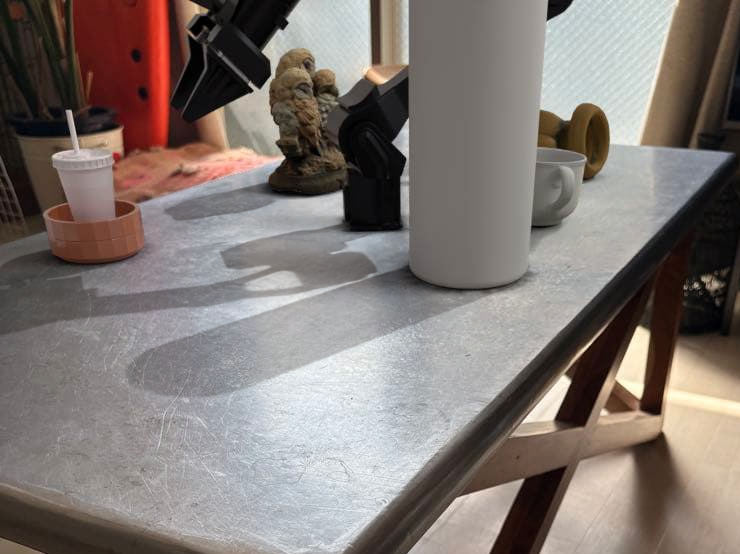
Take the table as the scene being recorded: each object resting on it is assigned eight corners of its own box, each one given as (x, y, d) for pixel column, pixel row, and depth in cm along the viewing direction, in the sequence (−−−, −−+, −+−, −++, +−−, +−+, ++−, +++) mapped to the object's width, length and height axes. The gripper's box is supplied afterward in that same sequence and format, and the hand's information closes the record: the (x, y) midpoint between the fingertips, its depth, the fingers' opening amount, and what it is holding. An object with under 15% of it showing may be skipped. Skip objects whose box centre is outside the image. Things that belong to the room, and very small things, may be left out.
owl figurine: (331, 200, 118) (324, 56, 108) (250, 195, 120) (236, 54, 111) (370, 171, 132) (367, 41, 122) (297, 167, 134) (288, 40, 125)
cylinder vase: (510, 297, 86) (529, -1, 72) (392, 283, 90) (388, -3, 76) (539, 260, 96) (561, -9, 82) (431, 249, 99) (434, -11, 85)
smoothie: (59, 247, 99) (28, 110, 91) (107, 234, 103) (81, 102, 95) (92, 258, 95) (63, 117, 87) (141, 244, 99) (117, 108, 91)
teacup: (486, 210, 113) (489, 143, 109) (568, 208, 114) (574, 141, 109) (505, 241, 102) (509, 168, 97) (597, 238, 103) (605, 166, 98)
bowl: (150, 237, 104) (144, 197, 101) (140, 263, 96) (133, 221, 93) (62, 240, 103) (53, 200, 100) (44, 267, 95) (33, 224, 92)
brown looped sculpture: (488, 101, 139) (618, 87, 127) (482, 188, 142) (608, 183, 130) (420, 73, 125) (559, 54, 112) (415, 171, 128) (550, 162, 115)
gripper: (194, -75, 94) (107, 47, 97) (224, -77, 80) (121, 66, 83) (272, 9, 101) (189, 120, 104) (313, 21, 86) (215, 150, 89)
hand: (178, 113), depth 95 cm, fingers open, 9 cm apart
